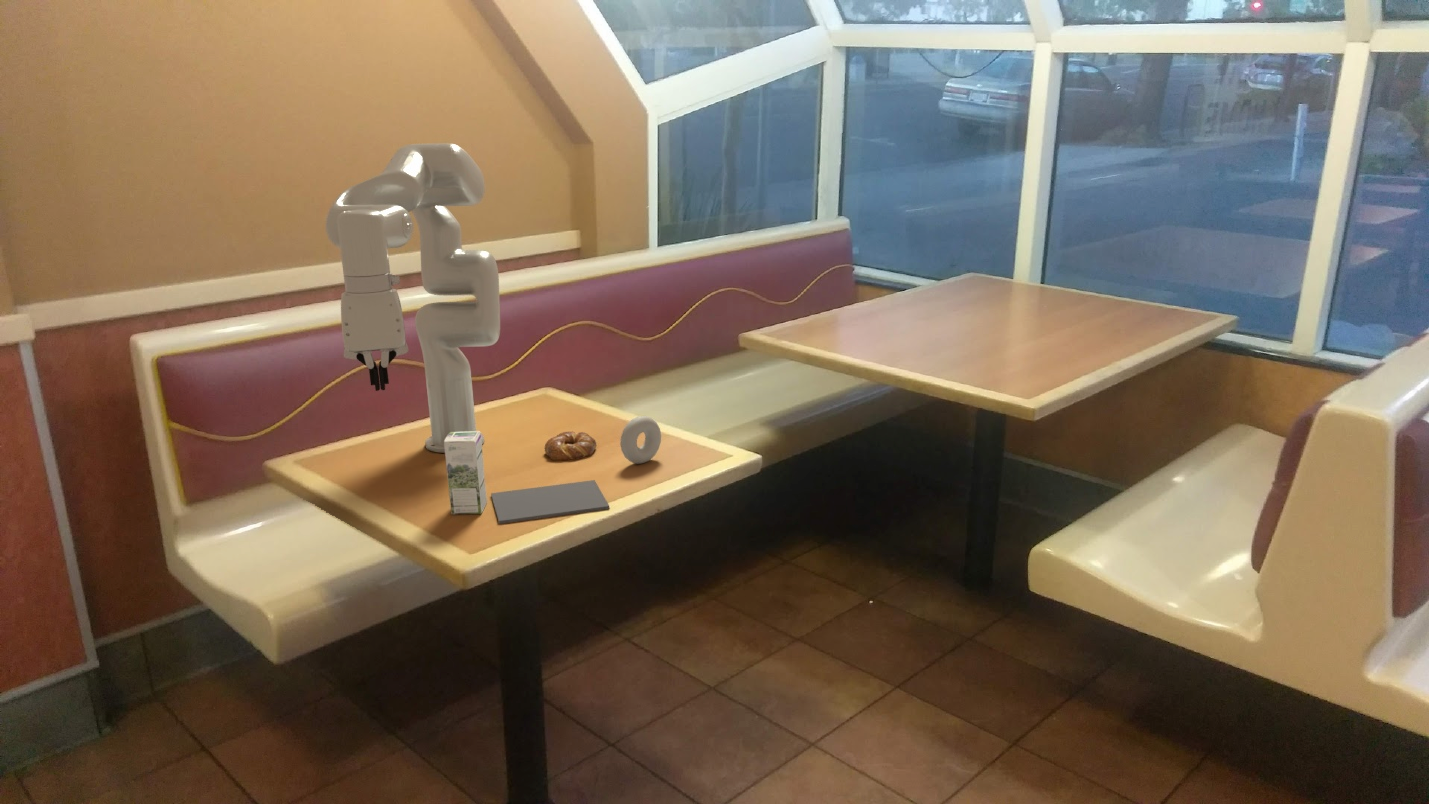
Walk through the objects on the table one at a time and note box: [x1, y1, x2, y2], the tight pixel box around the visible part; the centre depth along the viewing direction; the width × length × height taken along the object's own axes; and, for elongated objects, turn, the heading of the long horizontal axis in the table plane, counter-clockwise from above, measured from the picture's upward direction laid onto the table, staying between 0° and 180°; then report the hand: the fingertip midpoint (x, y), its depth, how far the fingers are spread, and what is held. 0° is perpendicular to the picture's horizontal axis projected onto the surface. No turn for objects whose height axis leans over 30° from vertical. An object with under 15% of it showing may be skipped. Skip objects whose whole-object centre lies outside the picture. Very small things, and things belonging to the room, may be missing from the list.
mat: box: [490, 479, 610, 525], centre depth 189 cm, size 14×20×1 cm
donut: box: [619, 415, 662, 465], centre depth 208 cm, size 10×4×10 cm, turn 134°
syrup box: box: [444, 430, 488, 515], centre depth 185 cm, size 6×6×14 cm
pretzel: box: [544, 431, 597, 462], centre depth 216 cm, size 12×11×4 cm
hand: (380, 388), depth 176 cm, fingers closed
